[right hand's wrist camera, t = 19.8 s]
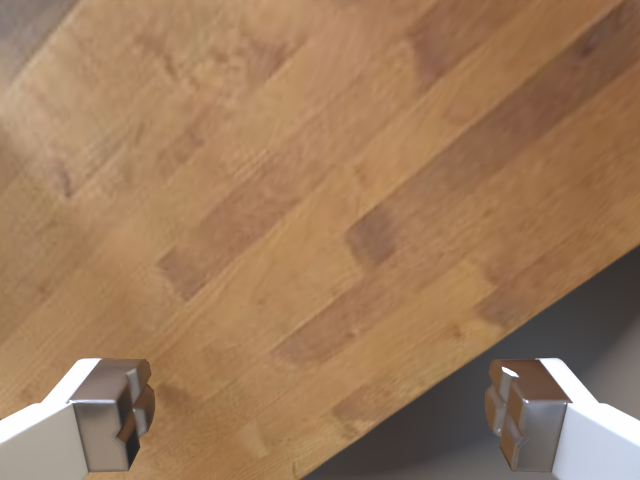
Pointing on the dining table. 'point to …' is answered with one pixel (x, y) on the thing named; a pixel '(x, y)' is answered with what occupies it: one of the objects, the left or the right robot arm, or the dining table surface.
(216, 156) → the dining table surface
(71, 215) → the dining table surface
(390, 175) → the dining table surface
